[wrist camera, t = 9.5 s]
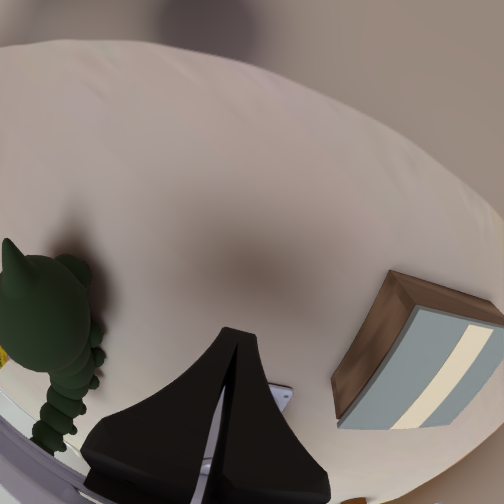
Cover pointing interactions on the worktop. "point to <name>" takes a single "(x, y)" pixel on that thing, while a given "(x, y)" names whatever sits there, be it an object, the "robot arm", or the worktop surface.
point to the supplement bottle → (3, 357)
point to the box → (397, 329)
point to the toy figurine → (50, 334)
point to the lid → (428, 372)
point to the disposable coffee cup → (355, 501)
